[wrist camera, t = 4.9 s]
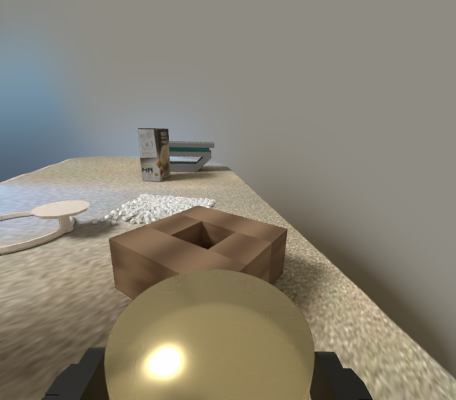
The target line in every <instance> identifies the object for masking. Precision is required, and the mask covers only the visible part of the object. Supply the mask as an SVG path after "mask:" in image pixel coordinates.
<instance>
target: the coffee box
mask: <svg viewBox="0 0 456 400" xmlns="http://www.w3.org/2000/svg"><path fill="white" fill-rule="evenodd" d="M138 133H139V147H140V160H141V174H142V180H143V181H162V180H164V179H166V178H168V177H169V176H170V158H169V135H168V129H159V128H138Z"/></svg>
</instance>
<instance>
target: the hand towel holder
mask: <svg viewBox="0 0 456 400" xmlns="http://www.w3.org/2000/svg"><path fill="white" fill-rule="evenodd" d="M89 206H90V203H89V202H85V201H82V200H81V201H61V202H55V203H49V204H46V205H42V206H39V207H36V208H34V209H33V210H32V211H27V212H18V213H12V214H6V215H1V216H0V221H2V220H7V219H12V218H18V217H26V216H36V217H39V218H41V219H59V224H60V228H59V229H58V230H57V231H54V232H52V233H50V234H47V235H45V236H42V237H39V238H36V239H33V240H29V241H26V242H22V243H17V244H13V245H9V246H3V247H0V255H2V254H8V253H12V252H16V251H20V250H24V249H28V248H31V247H34V246H37V245H40V244H43V243H46V242H48V241H51V240H53V239H55V238H57V237H59V236H61V235H63V234H64V233H67V232H71V231H72V230H73V225H74V221H75V219H74V218H73V217H72V216H75V215H78V214H80V213H82V212H85V211H86V210H87V209H88V208H89Z"/></svg>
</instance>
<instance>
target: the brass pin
mask: <svg viewBox="0 0 456 400" xmlns="http://www.w3.org/2000/svg"><path fill="white" fill-rule="evenodd" d="M314 358H315V354H314V343H313V338H312V334H311V331H310V329H309V326H308V323H307V321H306V320H305V318H304V316H303V314H302V313H301V311H300V310H299V309H298V307H297V306H296V305H295V304H294V303H293V301H292V300H291V299H290V298H289V297H288V296H286V295H285V294H284V293H283V292H282V291H280V290H279V289H277V288H276V287H275V286H273V285H271V284H269V283H268V282H266V281H264V280H261V279H259V278H257V277H254V276H251V275H248V274H245V273H241V272H236V271H230V270H216V269H211V270H198V271H192V272H187V273H183V274H179V275H176V276H173V277H170V278H167V279H165V280H163V281H161V282H159V283H157V284H155V285H153V286H152V287H150V288H148V289H147V290H145V291H144V292H143V293H141V294H140V295H139V296H138V297H136V298H135V299H134V300H133V301H132V302H131V303H130V304H129V305H128V306H127V307H126V308H125V310H124V311H123V312H122V313H121V315H120V316H119V318H118V319H117V321H116V323H115V324H114V326H113V328H112V331H111V333H110V335H109V338H108V342H107V345H106V349H105V359H104V366H105V377H106V383H107V389H108V395H109V400H308V397H309V392H310V386H311V380H312V375H313V369H314Z"/></svg>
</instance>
